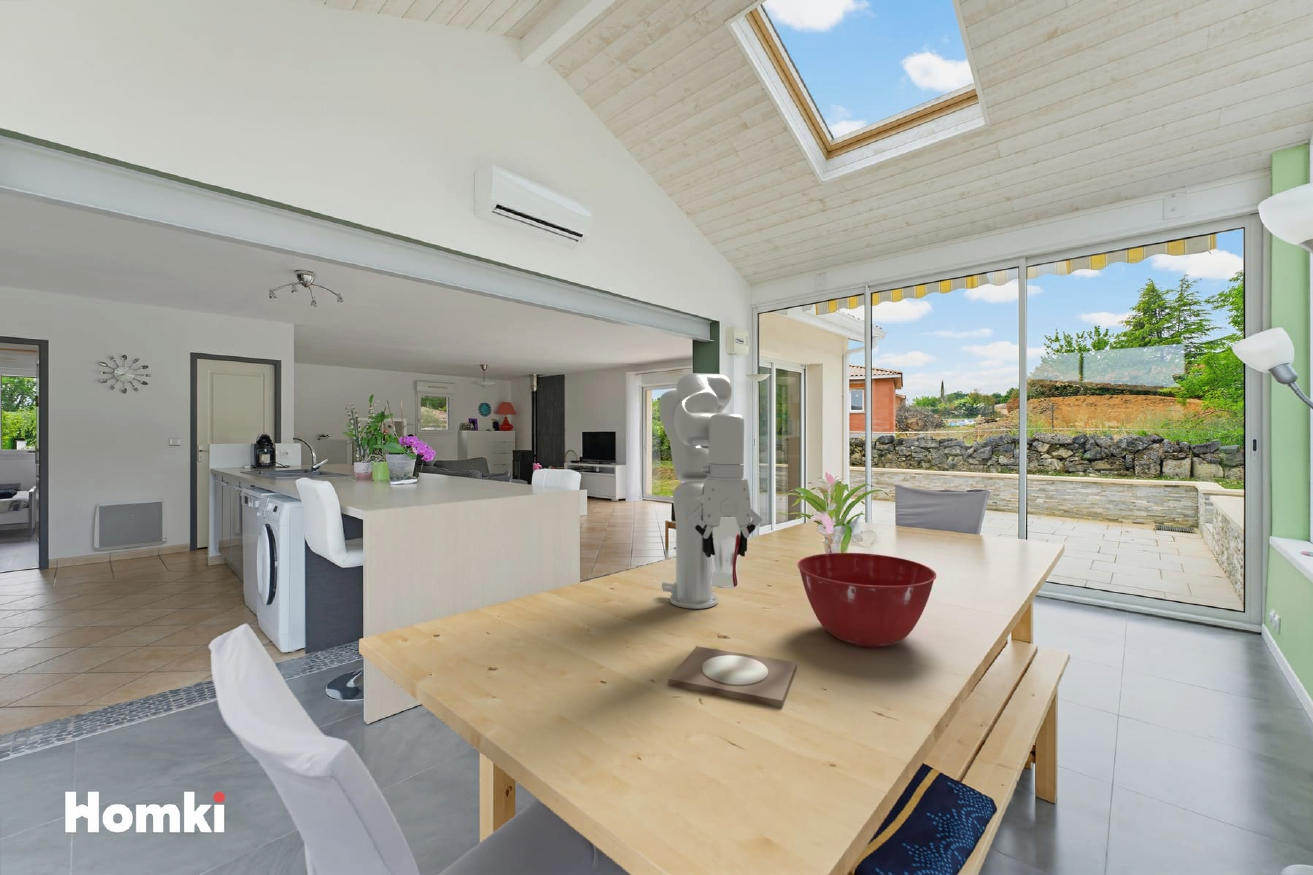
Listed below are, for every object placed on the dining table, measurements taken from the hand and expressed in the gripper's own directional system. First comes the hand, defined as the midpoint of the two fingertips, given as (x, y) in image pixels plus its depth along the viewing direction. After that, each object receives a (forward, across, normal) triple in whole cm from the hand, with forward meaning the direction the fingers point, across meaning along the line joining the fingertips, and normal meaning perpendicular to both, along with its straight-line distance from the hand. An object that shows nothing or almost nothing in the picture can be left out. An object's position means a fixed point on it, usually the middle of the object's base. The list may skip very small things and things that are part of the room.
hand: (724, 554), depth 118 cm
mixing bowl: (+19, +31, -1) cm, 37 cm away
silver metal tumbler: (+6, 0, 0) cm, 6 cm away
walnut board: (+18, -2, -17) cm, 25 cm away
